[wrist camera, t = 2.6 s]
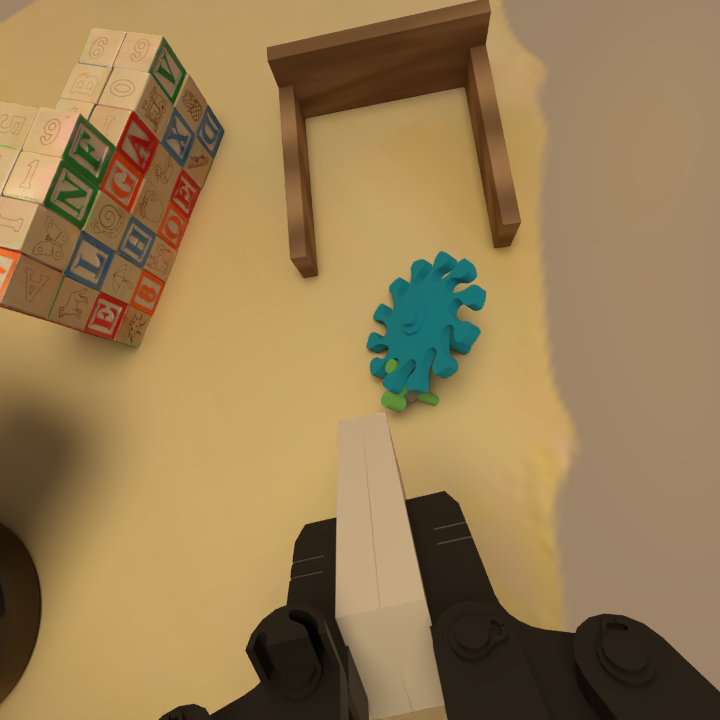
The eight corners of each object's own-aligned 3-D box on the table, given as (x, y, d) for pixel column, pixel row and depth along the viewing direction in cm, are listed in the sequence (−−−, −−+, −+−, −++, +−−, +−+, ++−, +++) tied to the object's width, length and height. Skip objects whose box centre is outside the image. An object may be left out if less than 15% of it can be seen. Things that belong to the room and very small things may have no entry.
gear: (395, 247, 32) (497, 246, 23) (447, 280, 35) (552, 290, 26) (338, 381, 32) (418, 428, 23) (394, 401, 35) (483, 450, 27)
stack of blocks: (167, 120, 39) (57, -21, 27) (226, 131, 38) (138, -12, 26) (79, 332, 36) (-90, 277, 24) (140, 351, 35) (-6, 303, 23)
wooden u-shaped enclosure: (510, 245, 32) (530, 201, 26) (303, 277, 34) (279, 242, 28) (477, 71, 35) (488, -3, 30) (290, 109, 37) (266, 47, 32)
